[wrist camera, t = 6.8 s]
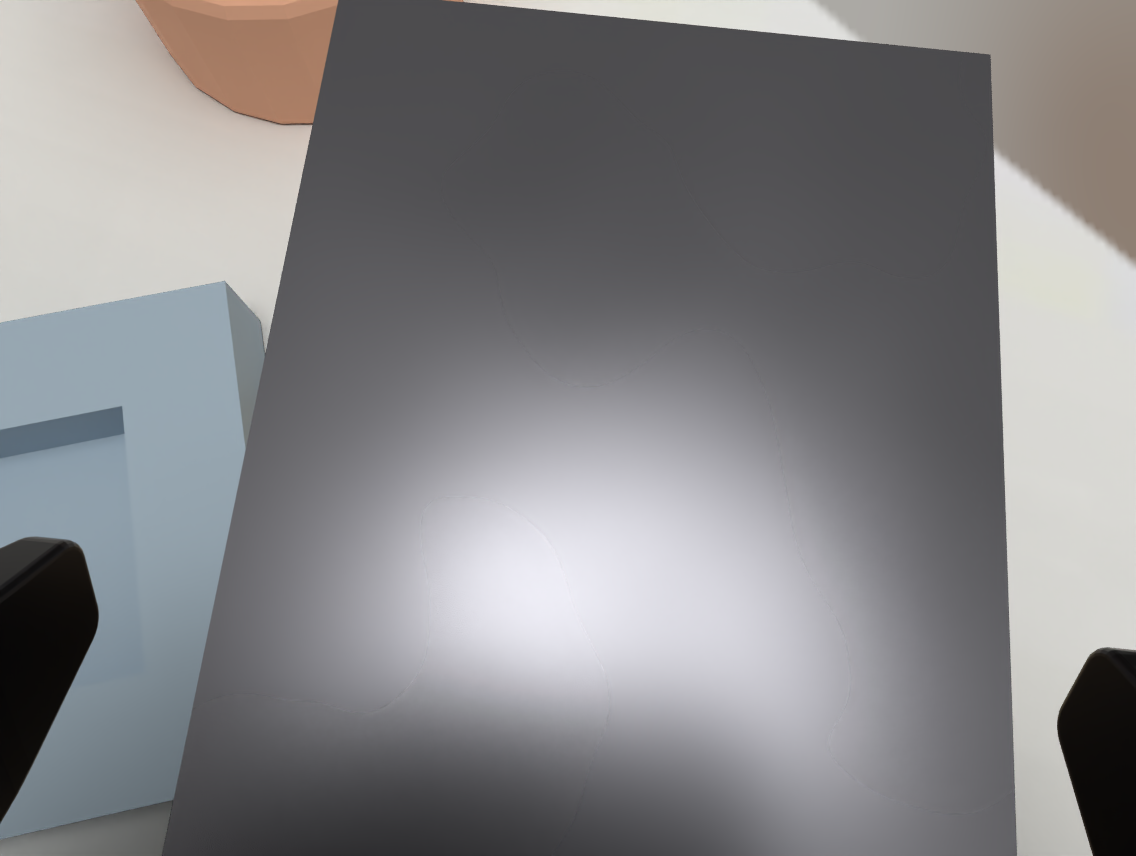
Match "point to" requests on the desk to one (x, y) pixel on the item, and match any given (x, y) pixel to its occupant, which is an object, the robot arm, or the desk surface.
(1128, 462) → the desk surface
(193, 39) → the salt shaker
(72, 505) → the square socket block
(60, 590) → the robot arm
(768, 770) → the grey hook block
